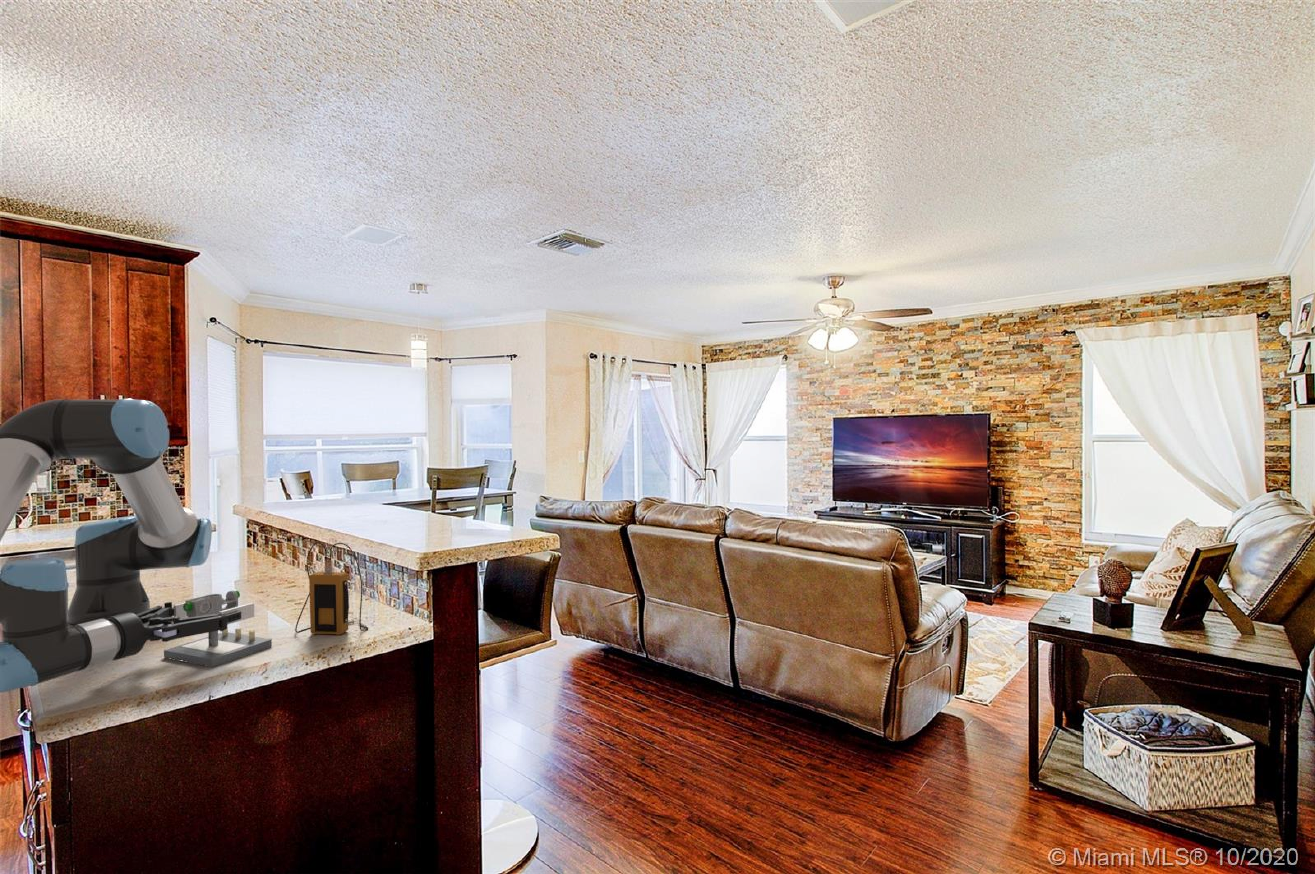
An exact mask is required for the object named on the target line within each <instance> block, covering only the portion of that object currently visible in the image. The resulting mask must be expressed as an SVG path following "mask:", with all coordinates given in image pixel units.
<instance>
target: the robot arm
mask: <svg viewBox="0 0 1315 874" xmlns="http://www.w3.org/2000/svg"><path fill="white" fill-rule="evenodd" d="M168 426H169V425H168V420H167V418H166V416H165V413H164V412H163V410H162V409H161V408H160V406H159V405H157V404H155V403H154V402H153V401H150V400H144V399H134V398H122V399H120V398H118V399H116V398H115V399H114V398H113V399H112V398H111V399H110V398H109V399H107V398H106V399H104V398H103V399H102V398H101V399H100V398H99V399H96V398H95V399H93V398H92V399H91V398H90V399H81V398H80V399H68V398H58V399H57V398H56V399H51V400H46V401H42V402H39V403H37V404H33V405H31V406H29V407H27V408H25V409H22V410H21V411H20V412H18V413H16V414H14V415H13V416H11V417H10V418H8V419H7V420H6V421H5V422H4V423H3V422H2V424H1V425H0V542H1V541H2V540H3V538H4V536H5V534H6V532H7V530H8V528H9V526H10V525H11V523H12V521H13V519H14V517H15V515H16V514H17V512H18V510H19V508H20V506H21V505H22V503H23V501H24V500H25V498H26V496H27V494H28V492H29V491H30V488H31V487H32V485H33V483H34V482H35V480H36V478H37V476H38V475H41V474H44V473H45V472H47V470H49V468H51V467H50V466H51V464H52V463H53V462H55V461H58V460H63V459H75V460H76V459H92V460H93V462H94V464H95V466H96V467H97V468H98V469H99V470H100V471H102V472H104V473H106V474H109V475H112V476H113V478H114V480H115V482H116V483H117V486H118V487H119V489H120V490H121V493H123V496H124V498H125V499H126V501H127V503H128V505H129V506H130V508H131V510H132V511H133V513H134V515H129V516H122V517H121V516H120V517H116V518H114V517H113V518H109V519H104V520H98V521H93V522H90V523H89V522H88V523H85V524H81V526H78V528H77V529H76V530H75V540H74V541H75V543H74V545H73V547H74V549H75V551H74V552H75V553H74V554H75V555H74V556H75V557H74V558H75V578H76V579H75V580H76V582H75V583H76V588H75V590H74V593H73V596H72V599H71V601H70V603H69V582H68V575H67V566H66V563H65V561H64V560H63V559H62V558H58V557H51V556H50V557H49V556H48V557H33V558H27V559H19V560H14V561H10V562H6V563H5V564H3V565H2V566H1V568H0V624H1V627H2V631H1V632H2V641H0V694H1V693H7V692H11V691H15V690H18V689H23V688H27V687H33V686H37V685H38V684H41V683H45V682H48V681H51V680H55V679H57V678H60V677H64V676H66V675H70V674H73V673H77V672H80V671H84V670H85V671H89V672H90V671H93V669H94V667H96V666H100V665H103V664H106V663H110V662H111V661H117V660H121V659H124V658H127V657H131V656H134V655H137V654H139V653H140V652H141V651H142V650H143V649H144V645H145V644H146V643H147V641H149V642H155V641H157V642H158V641H161V642H164V643H166V642H170V641H173V640H177V639H182V638H186V637H192V636H198V635H203V634H207V633H208V632H214V631H218V632H219V631H220V632H219V633H222V631H224V630H225V629H227V626H229V625H231V624H234V623H237V622H240V621H241V622H242V621H244V620H247V619H251V618H254V617H255V603H254V602H250V603H249V602H248V603H246V604H242V605H238V607H235V608H231V609H227V610H224V611H220V612H219V614H212V615H204V616H196V617H187V613H186V611H184V609H183V605H184V604H185V603H186V602H181V603H176V604H173V603H172V601H167V602H164V604H163V605H164V606H163V605H157V606H154V607H151V603H150V602H151V601H150V599H149V597H148V594H147V592H146V590H145V588H144V586H143V583H142V580H141V571H145V570H147V571H148V570H158V569H172V568H173V569H177V568H191V567H197V566H201V565H203V564H204V563H206V562H207V559H208V557H209V555H210V551H211V545H212V537H213V536H212V534H213V533H212V531H213V530H212V529H213V526H212V522H211V520H210V519H209V518H203V517H201V518H198V517H197V516H196V514H195V513H194V512H193V511H192V510H190V509H189V508H186V507H184V505H183V504H182V502H181V499H180V496H179V495H178V493H177V492H176V488H175V487H174V485H173V483H172V482H173V481H172V480H171V478H170V476H169V474H168V472H167V469H166V467H165V466H164V463H163V461H162V459H161V458H162V456H163V454H164V453H165V452H167V449H168V447H169V443H170V429H169V428H168ZM201 607H202V606H201ZM69 625H70V626H69Z"/></svg>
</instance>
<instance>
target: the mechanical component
mask: <svg viewBox="0 0 1315 874" xmlns="http://www.w3.org/2000/svg"><path fill="white" fill-rule="evenodd" d="M240 595H241V593H240V591H239V590H230V591H226V594H225V599H224V598H223V597H222V596H223V595H222V594H221V593H212V594H211V593H210V594H206V595H204V596H199V597H195V598H191V599H188V600H186V599H185V600H184V601H185V602H186V603H185V602H184V603H185V604H184V605H183V609H184V611H186V613H187V617H186V618H188V617H196V616H204V615H212V614H219V612H220V611H224V610H227V609H231V608H235V607H238V606H239V598H240ZM223 605H225V607H223ZM201 606H202V607H201ZM218 634H219V631H214V632H208V634H207V635H208V637H209V646H212V647H215V646H218Z"/></svg>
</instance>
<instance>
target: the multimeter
mask: <svg viewBox="0 0 1315 874" xmlns="http://www.w3.org/2000/svg"><path fill="white" fill-rule="evenodd" d="M317 544H319V545H321V546H322V547H323V549H324V555H325V557H324V559H325V560H324V571H317V572H315V573H314V572H313V573H312V574H310V571H309V570H310V569H309V556H310V553H311V551H312V549H313V548H314V547H315V545H317ZM336 545H344V546H346V548H348V549H349V550H350V552H351V554H352V556H353V557H354V560H355V563H356V566H357V569H358V575H359V578H360V579H359V580H360V604H359V620H352V621H349V611H350V599H349V598H350V597H349V596H350V595H349V579H348V578H349V577H348V572H345V571H342V572H340V571H334V572H333V566H332V564H333V562H332V549H333V548H334V547H335V546H336ZM327 554H328V553H327V549H326V546H325V545H324V544H323V543H322V542H320V541H316V542H314V543H313V545H312V546H311V547H310V549H309V551H308V554H307V556H306V563H305V564H306V571H307V572H306V573H307V576H308V577H307V578H308V580H309V582H308V584H309V585H308V586H309V593H308V595H307V597H306V599H305V602H304V604H303V607H302V609H301V610H300V613H299V616H298V619H297V621H296V625H295V629H294V631H295V633H301V632H303V631H306V630H307V631H308V630H310V633H311V634H312V635H318V634H319V635H321V634H322V635H336V636H340V635H342V634H344V633H346V632H348V631H349V624H355V623H357V624H358V625H359V629H360V631H361V632H365V631H368V630H369V627H368V626H367V625H365V624H364V623H362V622H361V621H362V619H361V618H362V617H361V616H362V605H363V604H362V603H363V581H362V580H363V579H362V574H361V573H362V572H361V569H360V565H359V563H358V560H357V557H356V555H355V552H354V551H353V549H352V548H351V546H349V545H348V544H346V543H344V542H343V543H342V542H337V543H334V544H332V545H331V547H330V550H329V566H328V560H327V556H328V555H327ZM308 600H309V617H310V621H309V622H310V626H309V627H307V628H304V629H301V630H299V631H297V628H298V624H299V621H300V620H301V619H300V618H301V616H302V614H303V612H304V610H305V607H306V604H307V603H308ZM362 628H365V629H362Z"/></svg>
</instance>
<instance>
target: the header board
mask: <svg viewBox="0 0 1315 874" xmlns="http://www.w3.org/2000/svg"><path fill="white" fill-rule="evenodd" d="M255 634H256V631H255V629H252V630H249V631H248V634H242V628H241V627H237V628H235V629H234V632H229V625H227V629H225V630H224V631H221V632H218V646H215V647H212V646H209V636H206V637H203V638H201V639H196V640H193V641H190V642H187V643H183V644H180V645H177V646H174V647H170V648H167V649H164V650H163V658H164V657H165V658H164V659H167V658H171V659H170V660H172V659H175V660H174V661H177V660H183V661H187V662H186V663H188V662H191V663H190V664H193V663H195V664H194V665H198V664H200V666H203V665H207V666H206V667H209V666H210V668H214V667H218V666H220V665H223V664H226V663H229V662H231V661H234V660H237V659H241V658H243V657H247V656H249V655H251V654H252V655H253V654H255V653H257V651H258V652H260V651H264V650H266V649H270V648H271V647H272V643H273V642H272V638H266V637H260V636H259V637H258V636H256V635H255ZM254 652H255V653H254ZM242 656H243V657H242ZM240 657H241V658H240Z"/></svg>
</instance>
